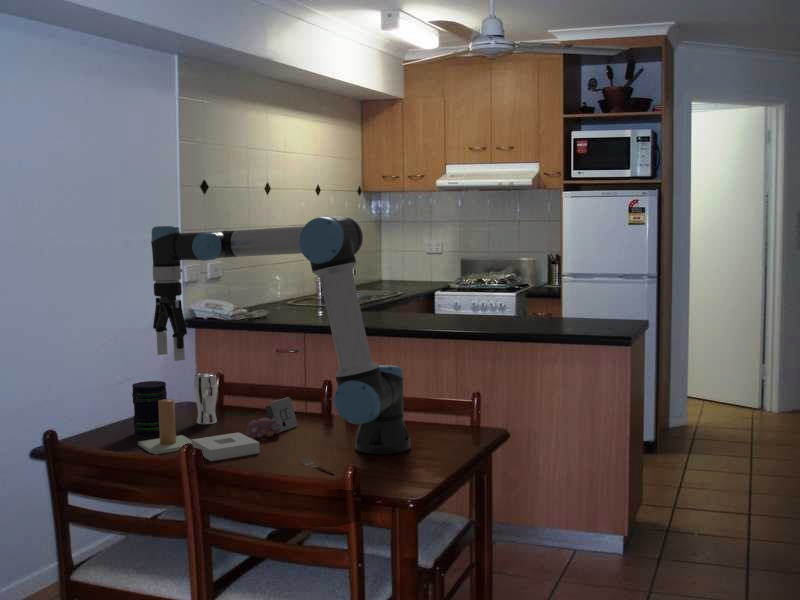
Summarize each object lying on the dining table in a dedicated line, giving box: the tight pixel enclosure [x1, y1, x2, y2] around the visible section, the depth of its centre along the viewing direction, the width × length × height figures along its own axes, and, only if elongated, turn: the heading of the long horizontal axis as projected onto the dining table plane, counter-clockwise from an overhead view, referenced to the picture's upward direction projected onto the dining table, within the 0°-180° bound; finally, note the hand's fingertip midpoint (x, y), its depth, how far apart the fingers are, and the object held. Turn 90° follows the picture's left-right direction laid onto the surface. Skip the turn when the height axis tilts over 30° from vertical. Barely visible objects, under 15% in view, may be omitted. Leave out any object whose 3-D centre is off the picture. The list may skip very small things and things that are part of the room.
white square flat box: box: [191, 432, 261, 462], centre depth 256 cm, size 14×14×3 cm
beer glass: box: [193, 372, 218, 425], centre depth 291 cm, size 7×7×15 cm
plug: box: [158, 398, 177, 445], centre depth 262 cm, size 4×4×12 cm
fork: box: [299, 455, 336, 476], centre depth 238 cm, size 3×16×2 cm, turn 34°
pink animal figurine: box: [245, 417, 281, 439], centre depth 272 cm, size 10×5×7 cm, turn 107°
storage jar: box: [131, 380, 168, 439], centre depth 278 cm, size 10×10×15 cm
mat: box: [137, 434, 192, 455], centre depth 263 cm, size 13×13×1 cm
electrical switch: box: [264, 396, 298, 434], centre depth 282 cm, size 9×5×9 cm, turn 152°
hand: (170, 357), depth 262 cm, fingers open, 13 cm apart
